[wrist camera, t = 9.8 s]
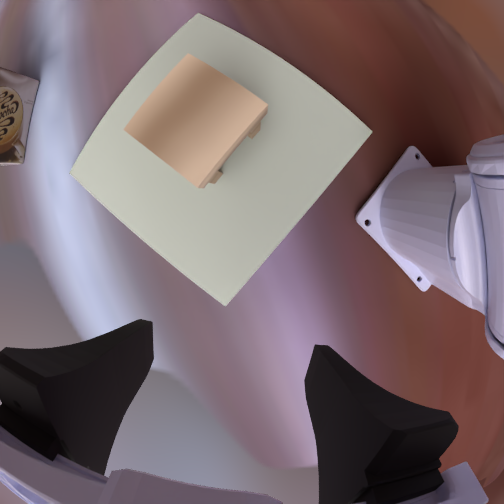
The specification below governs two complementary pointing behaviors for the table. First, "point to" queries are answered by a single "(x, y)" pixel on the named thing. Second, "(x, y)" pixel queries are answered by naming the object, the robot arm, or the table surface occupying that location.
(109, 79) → the table surface
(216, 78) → the stool
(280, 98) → the mat
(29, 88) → the coffee box
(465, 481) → the robot arm
